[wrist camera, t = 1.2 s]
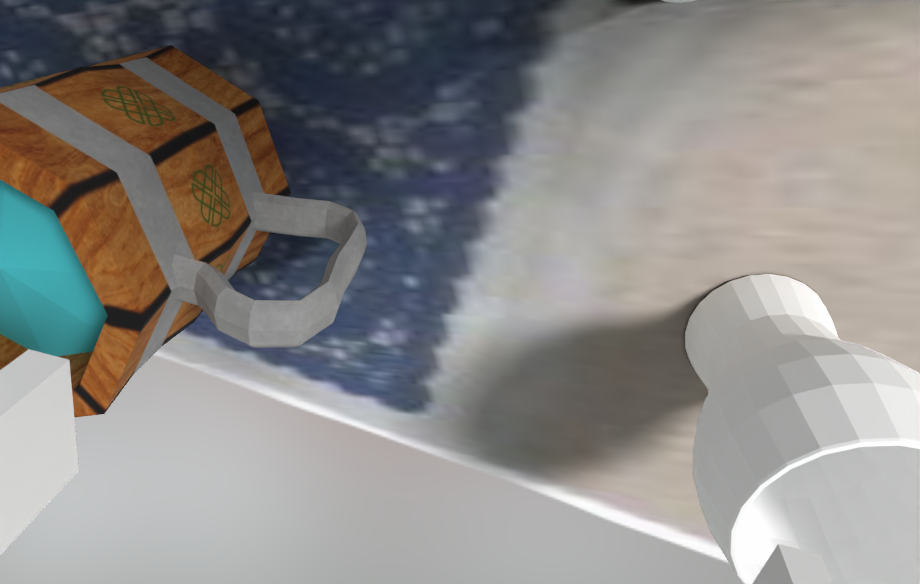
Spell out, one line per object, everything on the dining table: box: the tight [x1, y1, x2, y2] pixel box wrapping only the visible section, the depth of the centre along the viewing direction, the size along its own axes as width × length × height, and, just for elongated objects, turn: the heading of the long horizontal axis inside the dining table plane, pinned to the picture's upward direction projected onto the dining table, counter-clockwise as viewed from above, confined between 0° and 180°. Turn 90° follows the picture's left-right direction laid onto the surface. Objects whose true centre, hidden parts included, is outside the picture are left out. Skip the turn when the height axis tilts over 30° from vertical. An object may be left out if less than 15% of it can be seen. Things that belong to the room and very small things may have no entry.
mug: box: [0, 45, 367, 417], centre depth 31 cm, size 20×14×15 cm
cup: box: [685, 274, 920, 584], centre depth 31 cm, size 11×11×15 cm
